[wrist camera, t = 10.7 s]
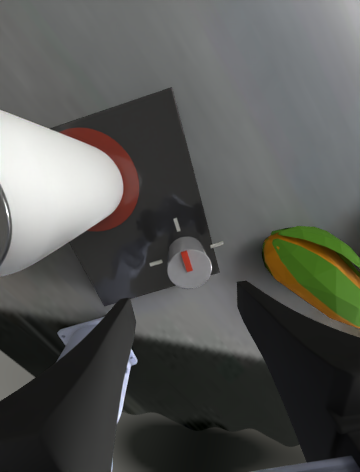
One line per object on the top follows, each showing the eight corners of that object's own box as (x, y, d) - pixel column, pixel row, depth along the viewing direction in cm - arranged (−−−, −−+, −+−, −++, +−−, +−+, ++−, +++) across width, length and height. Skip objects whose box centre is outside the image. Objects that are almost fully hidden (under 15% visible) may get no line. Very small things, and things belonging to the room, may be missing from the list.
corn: (340, 217, 13) (453, 334, 18) (283, 199, 20) (374, 286, 25) (265, 283, 15) (384, 372, 20) (237, 246, 22) (330, 318, 27)
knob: (208, 264, 20) (217, 284, 16) (174, 274, 20) (175, 296, 16) (199, 231, 18) (206, 245, 15) (162, 242, 18) (161, 258, 15)
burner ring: (152, 215, 17) (152, 216, 17) (68, 241, 18) (67, 242, 18) (116, 113, 15) (115, 112, 14) (16, 147, 15) (13, 146, 15)
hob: (223, 264, 23) (230, 275, 20) (112, 296, 23) (106, 311, 21) (182, 95, 17) (185, 81, 14) (34, 145, 17) (11, 140, 15)
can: (95, 232, 17) (-41, 336, 6) (35, 183, 16) (-309, 203, 4) (139, 184, 16) (71, 204, 5) (79, 126, 15) (-238, -51, 3)
